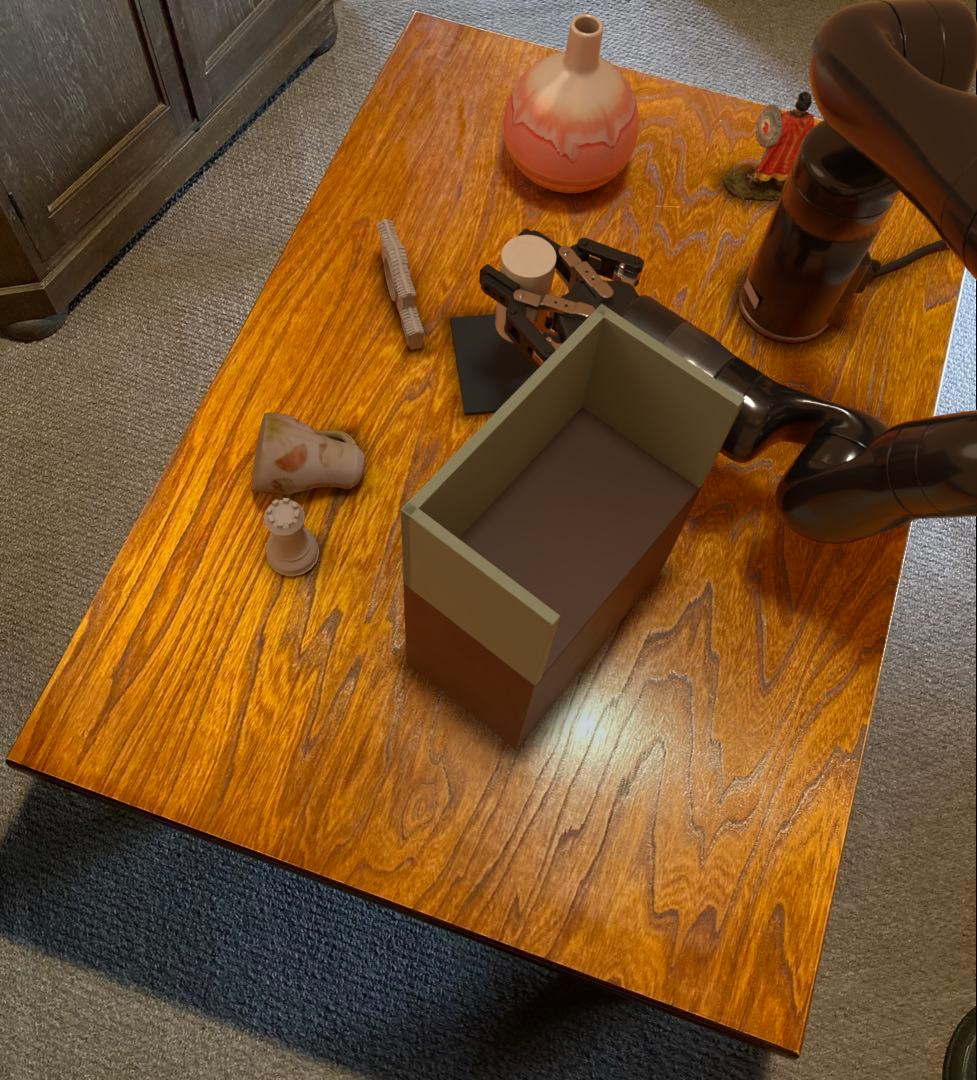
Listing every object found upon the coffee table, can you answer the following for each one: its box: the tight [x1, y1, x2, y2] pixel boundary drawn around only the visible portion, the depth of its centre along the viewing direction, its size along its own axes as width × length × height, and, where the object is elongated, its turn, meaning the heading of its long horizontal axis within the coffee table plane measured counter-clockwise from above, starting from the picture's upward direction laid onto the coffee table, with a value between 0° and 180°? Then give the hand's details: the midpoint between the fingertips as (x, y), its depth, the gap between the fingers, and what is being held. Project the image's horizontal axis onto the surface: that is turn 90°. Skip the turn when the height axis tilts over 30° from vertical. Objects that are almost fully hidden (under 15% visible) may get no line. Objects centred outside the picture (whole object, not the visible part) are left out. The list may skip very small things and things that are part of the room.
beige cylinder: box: [495, 235, 556, 343], centre depth 93 cm, size 5×5×9 cm
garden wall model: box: [375, 218, 425, 351], centre depth 102 cm, size 12×2×6 cm, turn 16°
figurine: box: [723, 91, 815, 202], centre depth 109 cm, size 8×5×12 cm, turn 81°
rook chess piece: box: [263, 497, 320, 577], centre depth 89 cm, size 4×4×8 cm
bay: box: [400, 304, 745, 750], centre depth 79 cm, size 12×21×27 cm, turn 141°
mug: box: [251, 412, 366, 496], centre depth 94 cm, size 8×10×10 cm
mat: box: [449, 311, 561, 416], centre depth 103 cm, size 11×11×1 cm
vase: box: [502, 13, 640, 194], centre depth 106 cm, size 14×14×18 cm
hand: (502, 256), depth 92 cm, fingers closed on beige cylinder, 4 cm apart
